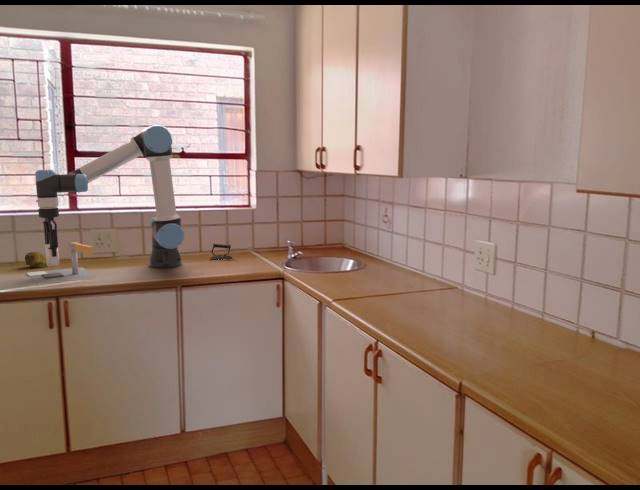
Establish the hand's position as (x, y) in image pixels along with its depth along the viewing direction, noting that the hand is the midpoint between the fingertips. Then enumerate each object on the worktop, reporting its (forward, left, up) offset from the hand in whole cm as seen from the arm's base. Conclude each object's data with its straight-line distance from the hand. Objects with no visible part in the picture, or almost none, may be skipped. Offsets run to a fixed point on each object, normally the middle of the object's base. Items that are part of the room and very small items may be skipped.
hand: (53, 262), depth 234 cm
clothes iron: (-78, 0, -7) cm, 79 cm away
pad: (+5, -8, -6) cm, 11 cm away
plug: (0, 0, -1) cm, 1 cm away
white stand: (-3, -2, -7) cm, 8 cm away
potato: (0, -24, -7) cm, 25 cm away
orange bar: (-10, +6, +5) cm, 12 cm away
